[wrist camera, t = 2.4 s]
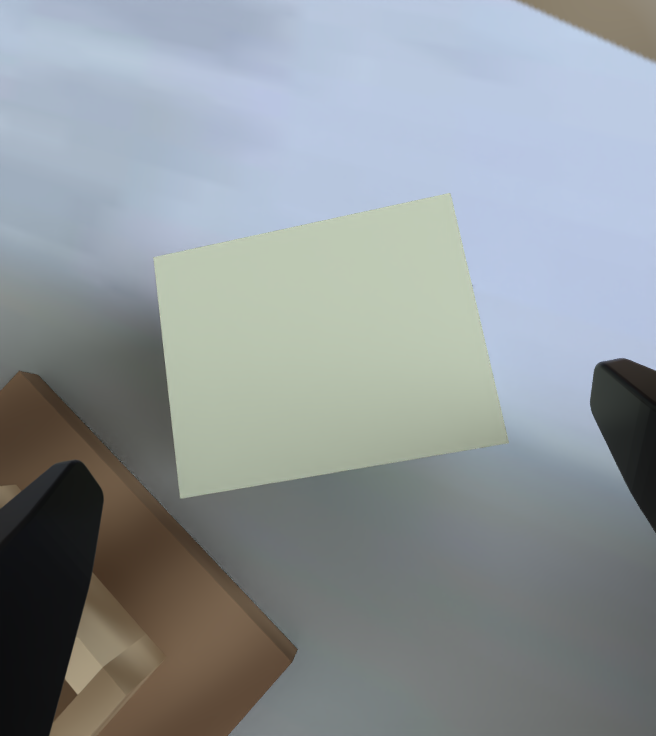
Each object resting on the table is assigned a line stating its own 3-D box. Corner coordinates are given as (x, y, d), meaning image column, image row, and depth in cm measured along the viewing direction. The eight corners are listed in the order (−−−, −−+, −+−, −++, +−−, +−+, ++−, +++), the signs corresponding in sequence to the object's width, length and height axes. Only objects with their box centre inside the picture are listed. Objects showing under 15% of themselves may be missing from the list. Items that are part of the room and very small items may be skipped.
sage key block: (439, 446, 17) (508, 442, 7) (297, 470, 17) (179, 498, 8) (415, 335, 18) (450, 192, 8) (280, 361, 18) (153, 257, 8)
